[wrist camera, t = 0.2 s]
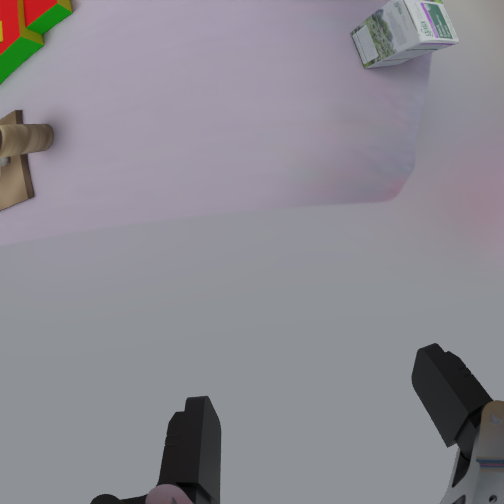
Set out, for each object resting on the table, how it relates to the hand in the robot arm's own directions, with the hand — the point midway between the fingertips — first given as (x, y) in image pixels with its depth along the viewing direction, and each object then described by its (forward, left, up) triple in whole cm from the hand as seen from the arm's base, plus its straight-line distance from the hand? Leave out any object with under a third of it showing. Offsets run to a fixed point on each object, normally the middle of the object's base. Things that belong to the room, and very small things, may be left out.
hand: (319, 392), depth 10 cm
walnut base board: (-16, -41, -29) cm, 52 cm away
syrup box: (-21, +18, -29) cm, 40 cm away
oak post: (-17, -29, -29) cm, 44 cm away
